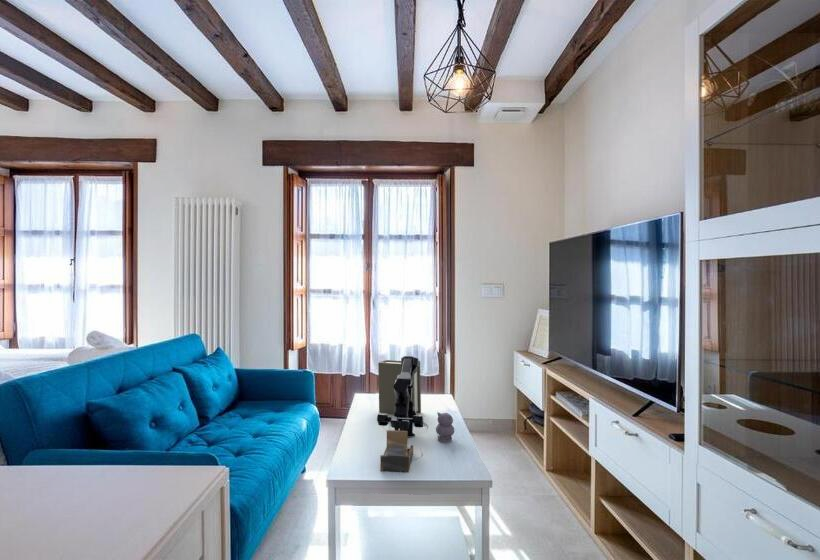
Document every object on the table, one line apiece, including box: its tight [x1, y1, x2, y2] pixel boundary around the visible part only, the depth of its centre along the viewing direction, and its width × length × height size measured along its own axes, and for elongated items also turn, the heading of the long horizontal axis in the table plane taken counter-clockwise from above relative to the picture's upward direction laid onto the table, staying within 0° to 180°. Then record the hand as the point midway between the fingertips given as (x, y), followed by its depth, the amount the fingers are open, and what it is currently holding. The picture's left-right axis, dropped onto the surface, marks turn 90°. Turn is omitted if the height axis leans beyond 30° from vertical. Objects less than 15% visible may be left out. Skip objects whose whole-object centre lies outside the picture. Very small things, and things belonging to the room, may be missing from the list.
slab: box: [385, 429, 408, 457], centre depth 158 cm, size 6×8×10 cm
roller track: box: [379, 444, 414, 474], centre depth 162 cm, size 17×11×6 cm, turn 174°
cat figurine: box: [435, 411, 455, 444], centre depth 184 cm, size 8×8×12 cm
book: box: [377, 359, 422, 415], centre depth 224 cm, size 22×9×28 cm, turn 65°
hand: (398, 440), depth 163 cm, fingers closed
